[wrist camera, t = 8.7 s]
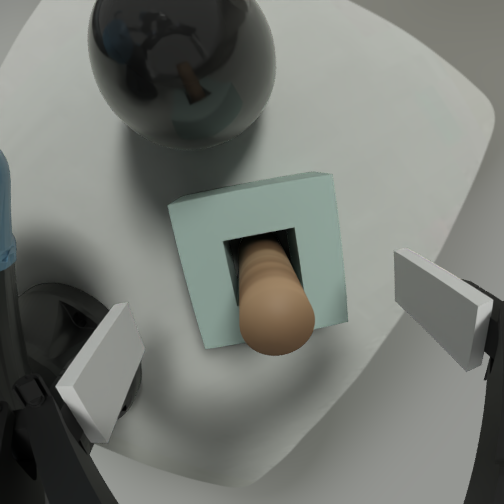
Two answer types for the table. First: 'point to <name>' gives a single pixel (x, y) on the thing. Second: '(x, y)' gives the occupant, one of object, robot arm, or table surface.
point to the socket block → (251, 223)
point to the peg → (271, 298)
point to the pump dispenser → (183, 67)
